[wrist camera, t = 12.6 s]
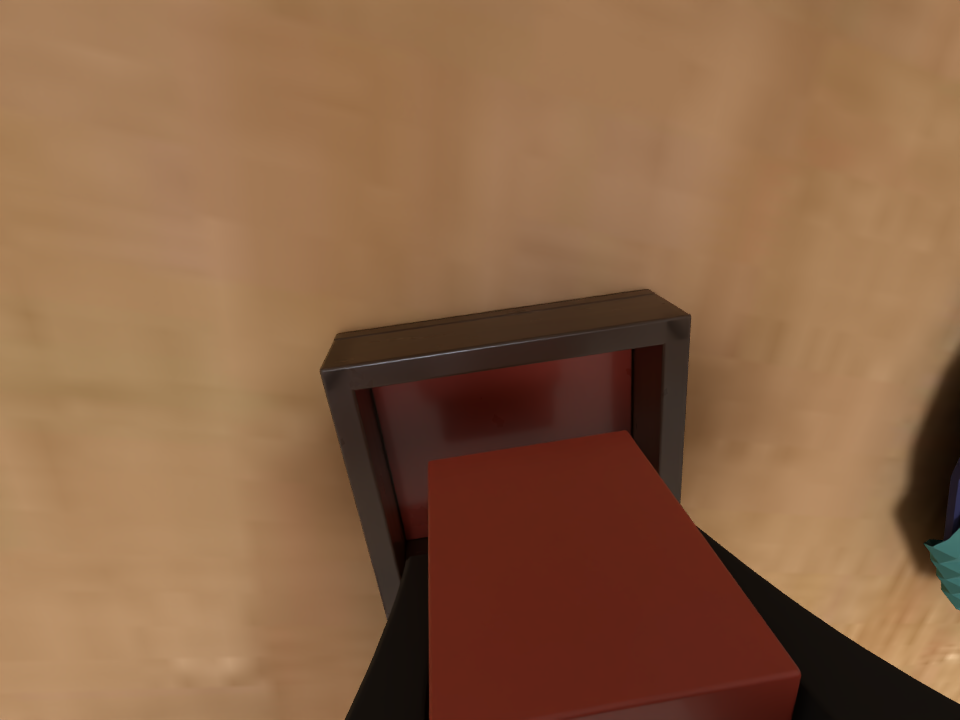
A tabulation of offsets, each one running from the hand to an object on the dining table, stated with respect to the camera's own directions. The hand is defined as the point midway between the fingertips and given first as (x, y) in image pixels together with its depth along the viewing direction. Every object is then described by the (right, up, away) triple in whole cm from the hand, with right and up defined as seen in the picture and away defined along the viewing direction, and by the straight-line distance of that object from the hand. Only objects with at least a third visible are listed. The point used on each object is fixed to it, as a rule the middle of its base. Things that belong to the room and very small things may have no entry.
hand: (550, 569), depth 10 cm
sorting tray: (0, -1, +7) cm, 7 cm away
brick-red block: (0, +1, +1) cm, 1 cm away
